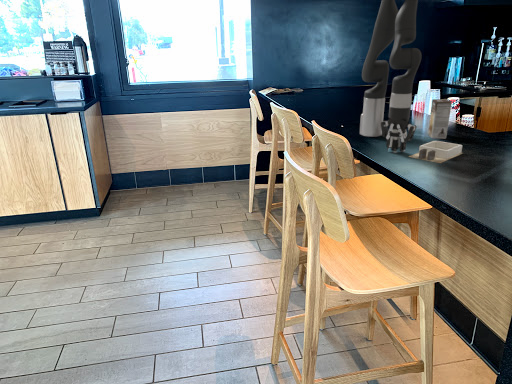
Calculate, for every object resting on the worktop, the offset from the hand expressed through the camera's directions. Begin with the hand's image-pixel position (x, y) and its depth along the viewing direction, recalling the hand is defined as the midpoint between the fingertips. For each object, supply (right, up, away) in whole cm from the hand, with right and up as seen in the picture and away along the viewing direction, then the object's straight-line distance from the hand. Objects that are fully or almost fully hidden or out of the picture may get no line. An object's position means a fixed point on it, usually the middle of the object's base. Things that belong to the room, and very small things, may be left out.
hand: (395, 149), depth 149 cm
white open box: (+15, -2, -4) cm, 16 cm away
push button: (0, -2, 0) cm, 2 cm away
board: (+13, -4, -5) cm, 15 cm away
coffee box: (+28, +9, +26) cm, 39 cm away
